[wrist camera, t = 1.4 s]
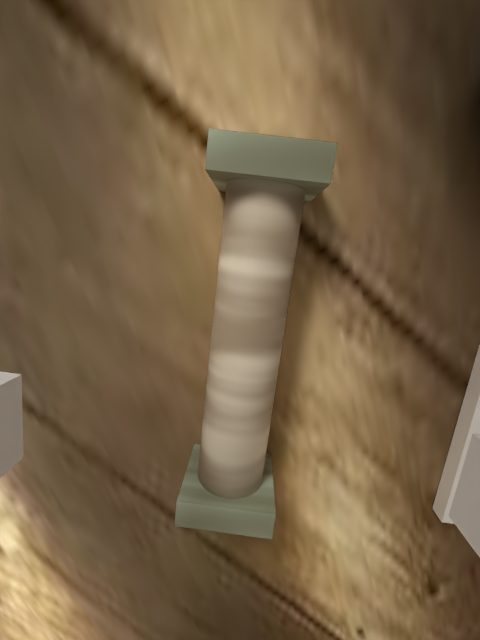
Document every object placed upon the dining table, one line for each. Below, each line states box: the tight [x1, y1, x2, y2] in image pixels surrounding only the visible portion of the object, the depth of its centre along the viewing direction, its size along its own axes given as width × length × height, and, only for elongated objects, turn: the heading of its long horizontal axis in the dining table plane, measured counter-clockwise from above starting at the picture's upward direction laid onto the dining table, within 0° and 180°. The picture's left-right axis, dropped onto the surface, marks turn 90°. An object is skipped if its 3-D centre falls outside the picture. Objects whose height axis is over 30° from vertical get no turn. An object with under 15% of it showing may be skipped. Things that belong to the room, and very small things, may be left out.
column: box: [175, 128, 337, 539], centre depth 18 cm, size 20×5×5 cm, turn 173°
